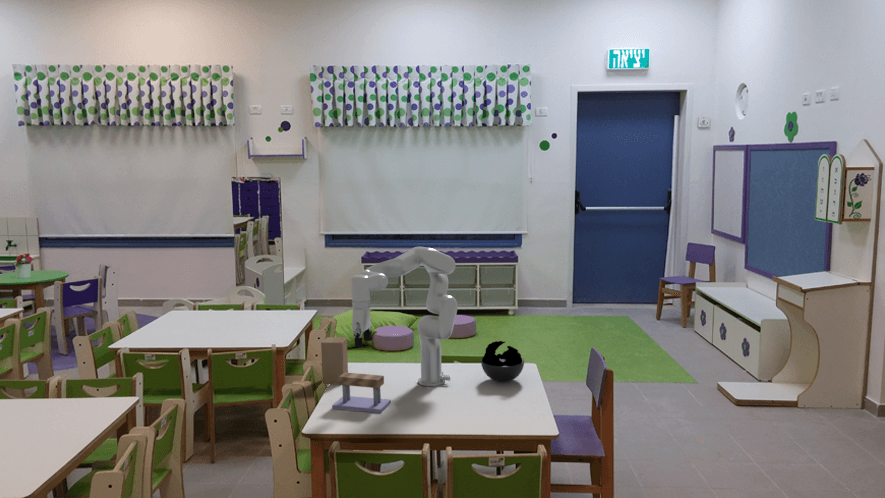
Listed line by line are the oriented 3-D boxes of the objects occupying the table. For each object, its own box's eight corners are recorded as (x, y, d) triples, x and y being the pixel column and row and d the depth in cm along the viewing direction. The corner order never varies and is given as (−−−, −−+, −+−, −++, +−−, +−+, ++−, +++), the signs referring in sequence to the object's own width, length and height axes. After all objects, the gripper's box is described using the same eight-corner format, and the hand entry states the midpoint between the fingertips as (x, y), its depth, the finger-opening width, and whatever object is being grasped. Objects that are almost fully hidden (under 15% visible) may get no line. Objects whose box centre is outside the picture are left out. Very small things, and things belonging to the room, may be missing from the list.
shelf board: (339, 384, 293) (338, 376, 293) (345, 380, 299) (344, 372, 298) (378, 388, 288) (378, 380, 287) (383, 383, 293) (383, 375, 293)
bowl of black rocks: (480, 374, 333) (480, 336, 331) (522, 374, 332) (522, 336, 330) (481, 388, 314) (481, 348, 311) (525, 388, 313) (525, 347, 310)
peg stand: (391, 403, 297) (390, 381, 296) (381, 413, 286) (380, 390, 284) (343, 398, 303) (343, 377, 302) (332, 408, 292) (331, 386, 290)
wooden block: (348, 377, 332) (346, 337, 330) (343, 384, 323) (341, 342, 320) (328, 377, 333) (326, 336, 331) (322, 384, 324) (320, 342, 321)
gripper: (360, 299, 301) (362, 337, 303) (344, 308, 284) (346, 349, 287) (376, 300, 299) (378, 338, 301) (362, 309, 282) (363, 349, 285)
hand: (363, 343), depth 294 cm, fingers open, 9 cm apart
